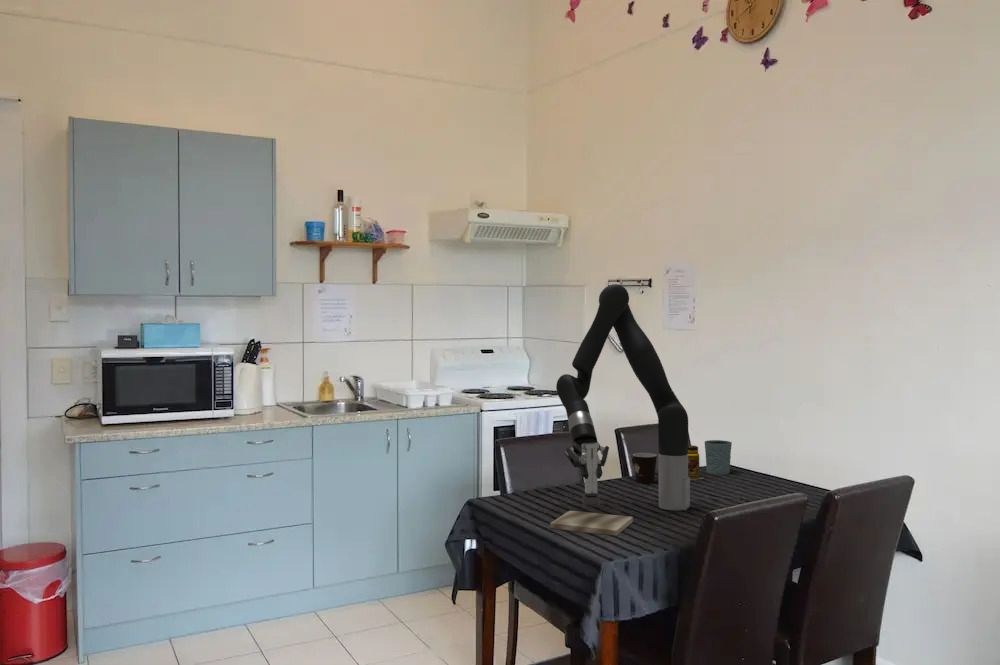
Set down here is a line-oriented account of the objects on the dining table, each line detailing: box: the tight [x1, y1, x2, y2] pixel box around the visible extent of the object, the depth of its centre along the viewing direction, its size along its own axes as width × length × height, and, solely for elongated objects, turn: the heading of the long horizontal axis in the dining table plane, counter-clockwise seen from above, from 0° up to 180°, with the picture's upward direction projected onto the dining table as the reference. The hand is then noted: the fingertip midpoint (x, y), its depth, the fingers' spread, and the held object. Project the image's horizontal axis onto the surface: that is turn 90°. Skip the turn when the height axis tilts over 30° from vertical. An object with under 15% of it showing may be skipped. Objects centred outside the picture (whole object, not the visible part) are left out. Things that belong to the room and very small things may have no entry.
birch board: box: [549, 510, 634, 536], centre depth 235 cm, size 20×16×2 cm
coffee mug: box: [631, 452, 658, 485], centre depth 294 cm, size 12×9×10 cm
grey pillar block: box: [582, 442, 601, 508], centre depth 234 cm, size 5×5×18 cm
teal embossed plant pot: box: [704, 439, 732, 476], centre depth 308 cm, size 10×10×12 cm
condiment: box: [688, 444, 704, 481], centre depth 300 cm, size 7×8×12 cm
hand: (593, 477), depth 232 cm, fingers closed on grey pillar block, 3 cm apart
